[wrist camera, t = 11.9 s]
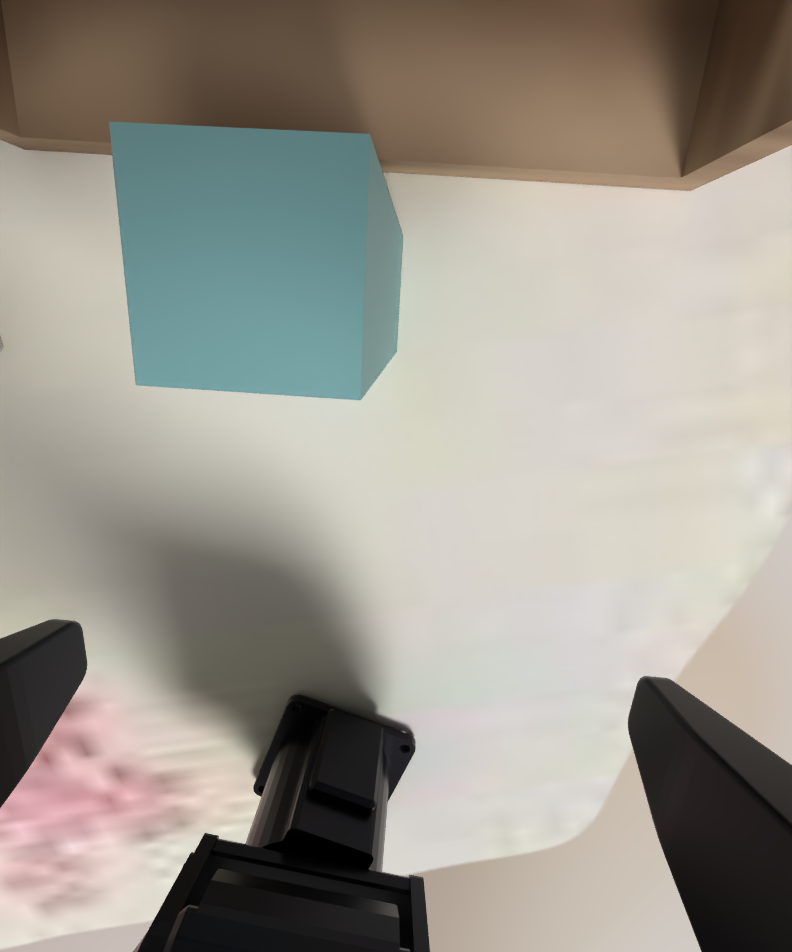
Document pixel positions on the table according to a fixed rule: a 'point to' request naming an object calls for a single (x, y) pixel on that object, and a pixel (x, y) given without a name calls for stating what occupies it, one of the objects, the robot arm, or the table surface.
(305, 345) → the pillar block
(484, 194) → the table surface
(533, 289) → the table surface
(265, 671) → the table surface
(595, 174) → the open box
